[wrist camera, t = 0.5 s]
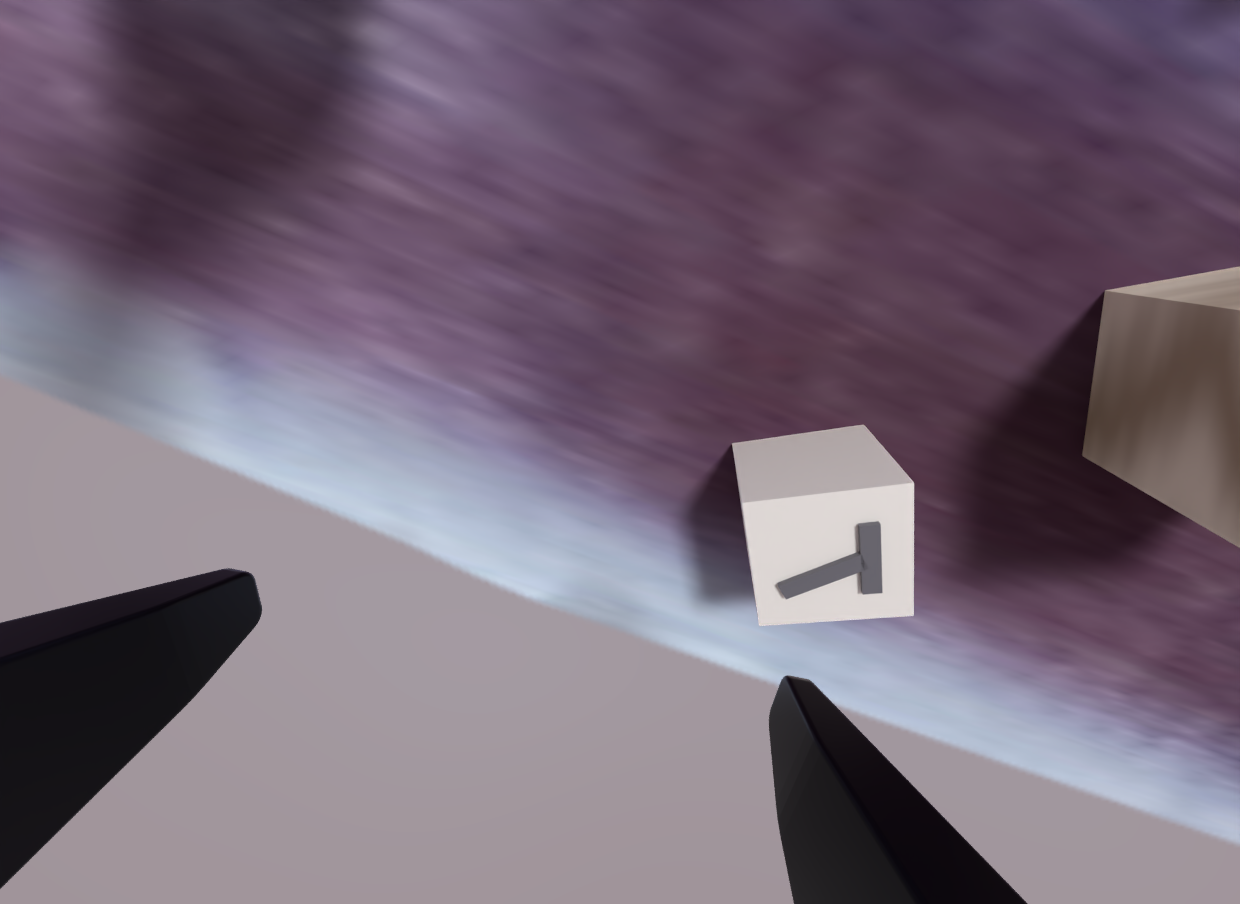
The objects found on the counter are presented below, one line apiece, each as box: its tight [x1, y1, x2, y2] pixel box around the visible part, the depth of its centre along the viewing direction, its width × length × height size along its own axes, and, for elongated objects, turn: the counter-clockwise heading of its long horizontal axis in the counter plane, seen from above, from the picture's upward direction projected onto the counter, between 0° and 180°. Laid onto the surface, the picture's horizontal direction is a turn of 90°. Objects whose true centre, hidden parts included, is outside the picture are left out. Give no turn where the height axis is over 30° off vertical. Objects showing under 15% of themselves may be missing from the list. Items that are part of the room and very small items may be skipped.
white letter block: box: [732, 425, 914, 626], centre depth 18 cm, size 5×5×5 cm
